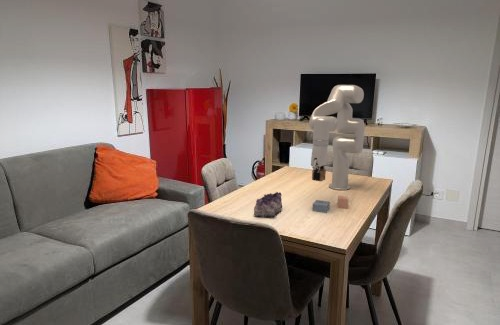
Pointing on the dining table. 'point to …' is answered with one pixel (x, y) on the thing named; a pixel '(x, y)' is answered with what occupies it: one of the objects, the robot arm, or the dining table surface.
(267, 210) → the geode
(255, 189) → the dining table surface
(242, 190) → the dining table surface
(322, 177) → the walnut cube
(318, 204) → the blue-grey square box
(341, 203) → the terracotta cube
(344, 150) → the robot arm
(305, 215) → the dining table surface
